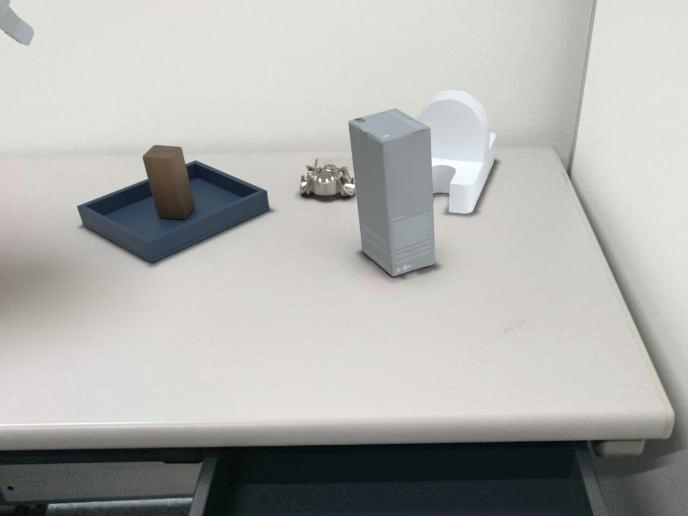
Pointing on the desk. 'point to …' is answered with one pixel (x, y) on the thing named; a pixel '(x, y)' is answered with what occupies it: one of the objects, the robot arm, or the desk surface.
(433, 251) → the cosmetic box
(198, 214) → the tray
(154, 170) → the wooden block
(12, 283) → the desk surface
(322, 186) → the ornament
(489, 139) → the bracket
